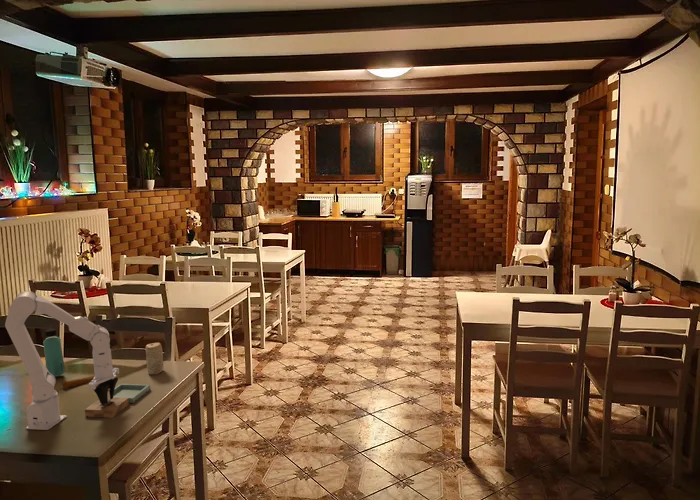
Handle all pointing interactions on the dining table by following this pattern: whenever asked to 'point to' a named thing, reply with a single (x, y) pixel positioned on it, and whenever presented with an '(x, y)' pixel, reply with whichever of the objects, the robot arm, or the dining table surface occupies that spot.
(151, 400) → the dining table surface
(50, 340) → the beverage bottle
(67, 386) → the primitive tool
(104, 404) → the pin
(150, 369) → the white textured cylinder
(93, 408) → the socket block
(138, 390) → the tray
